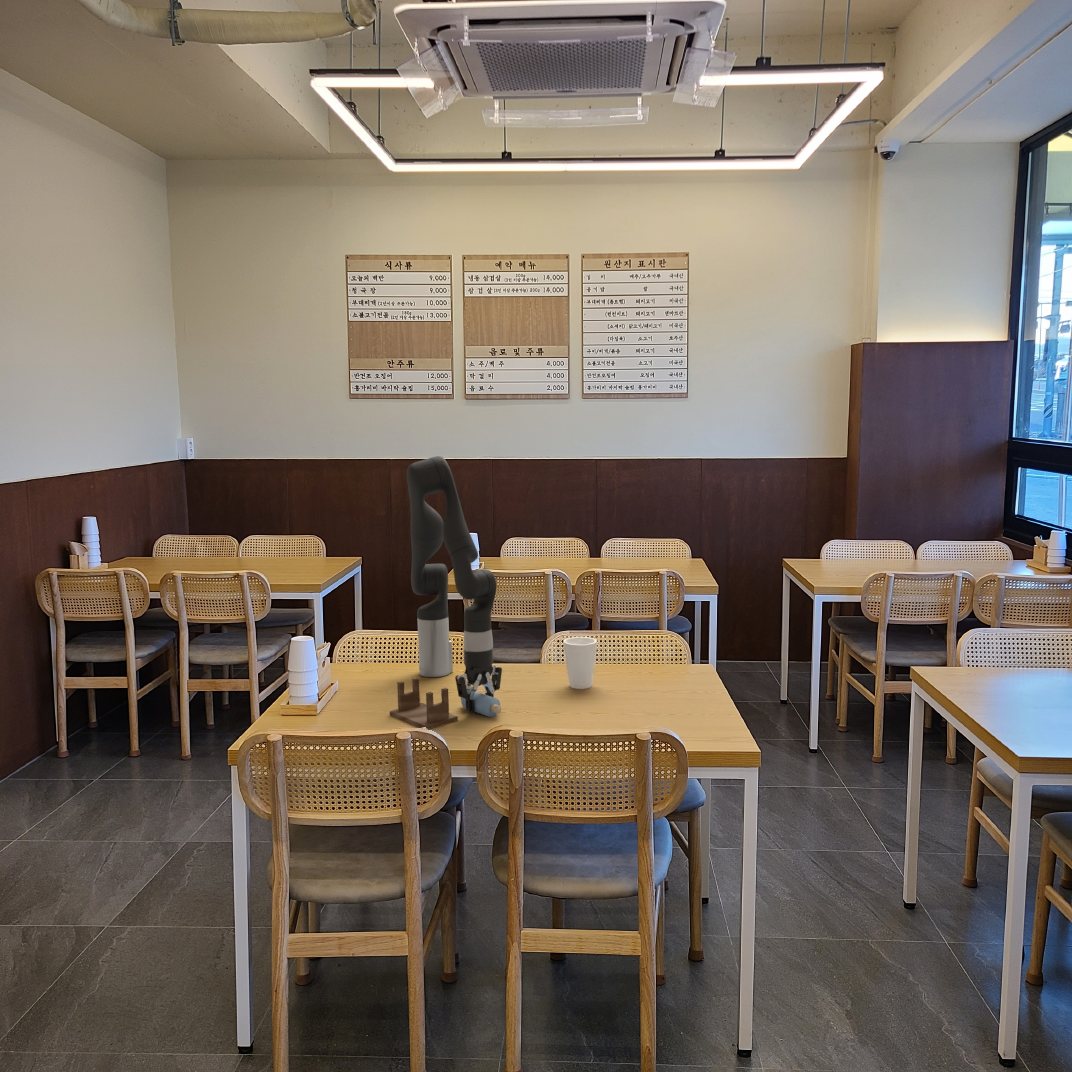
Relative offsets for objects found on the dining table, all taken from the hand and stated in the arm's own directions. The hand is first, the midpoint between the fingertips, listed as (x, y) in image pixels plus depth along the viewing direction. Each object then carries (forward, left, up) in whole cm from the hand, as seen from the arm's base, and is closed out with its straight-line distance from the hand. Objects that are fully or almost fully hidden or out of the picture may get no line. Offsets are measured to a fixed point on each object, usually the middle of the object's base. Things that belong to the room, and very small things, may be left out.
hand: (479, 709), depth 243 cm
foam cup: (-35, +2, -1) cm, 35 cm away
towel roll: (0, 0, -1) cm, 1 cm away
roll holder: (+13, -7, -1) cm, 15 cm away
